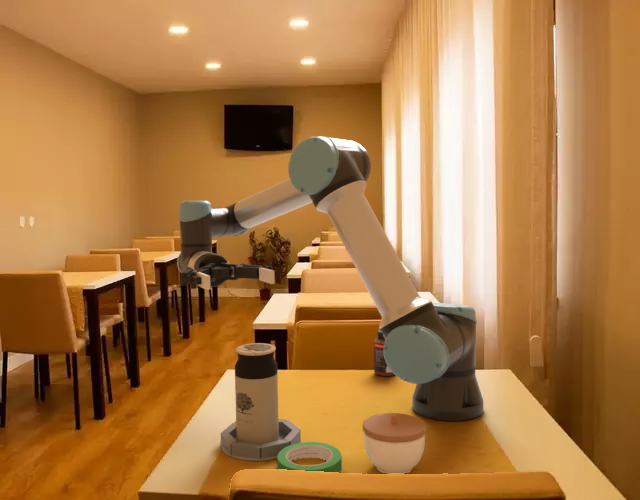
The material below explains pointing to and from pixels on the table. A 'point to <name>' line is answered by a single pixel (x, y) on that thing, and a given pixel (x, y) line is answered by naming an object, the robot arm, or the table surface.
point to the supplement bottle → (380, 357)
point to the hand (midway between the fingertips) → (241, 280)
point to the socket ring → (259, 451)
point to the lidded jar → (394, 441)
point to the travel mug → (256, 394)
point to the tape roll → (310, 451)
